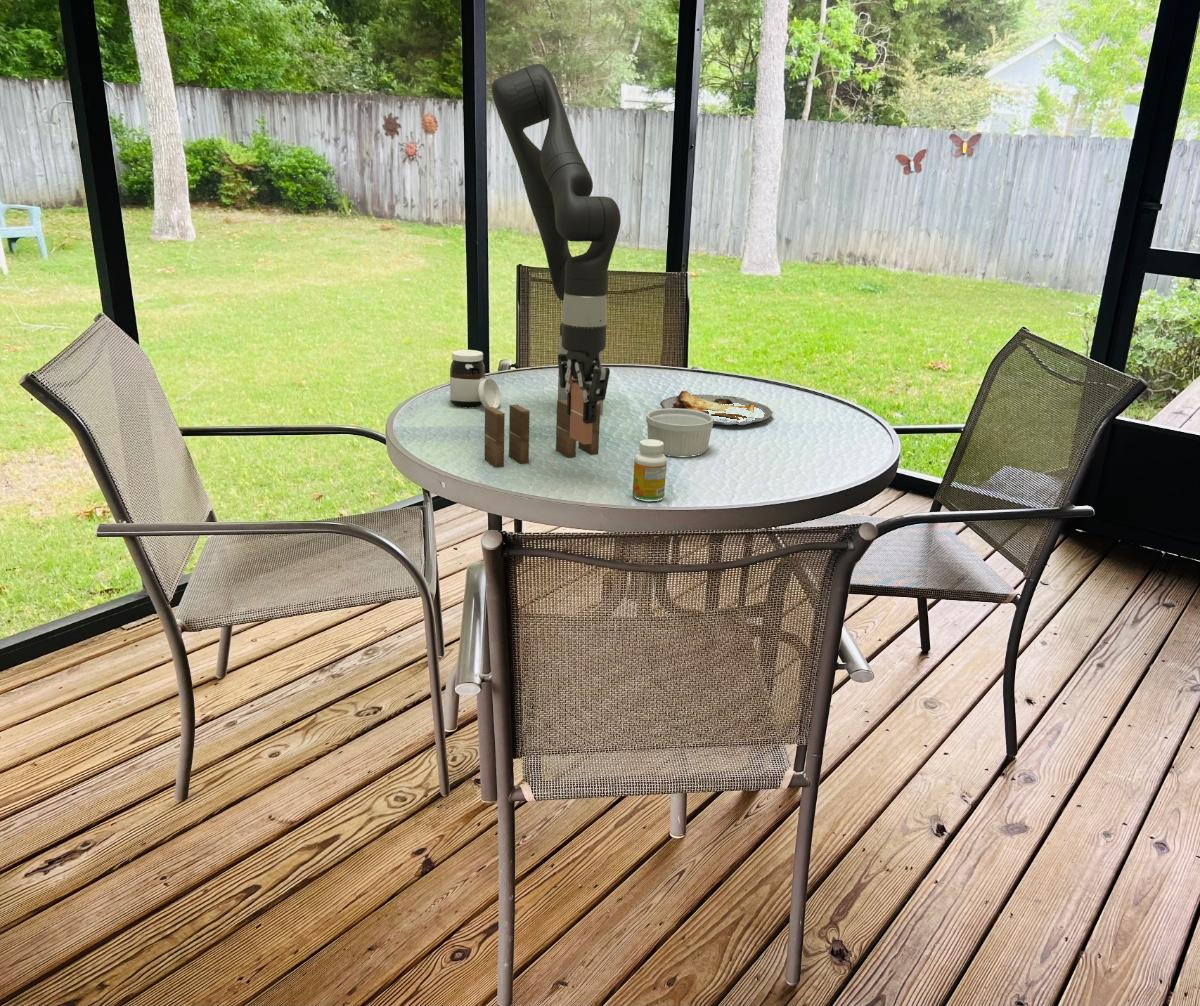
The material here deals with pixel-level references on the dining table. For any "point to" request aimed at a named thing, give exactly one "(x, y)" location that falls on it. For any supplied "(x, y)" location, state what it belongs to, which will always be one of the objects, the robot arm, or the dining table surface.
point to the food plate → (714, 405)
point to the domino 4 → (579, 417)
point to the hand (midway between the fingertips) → (581, 418)
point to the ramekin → (680, 430)
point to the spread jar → (471, 381)
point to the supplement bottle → (649, 471)
